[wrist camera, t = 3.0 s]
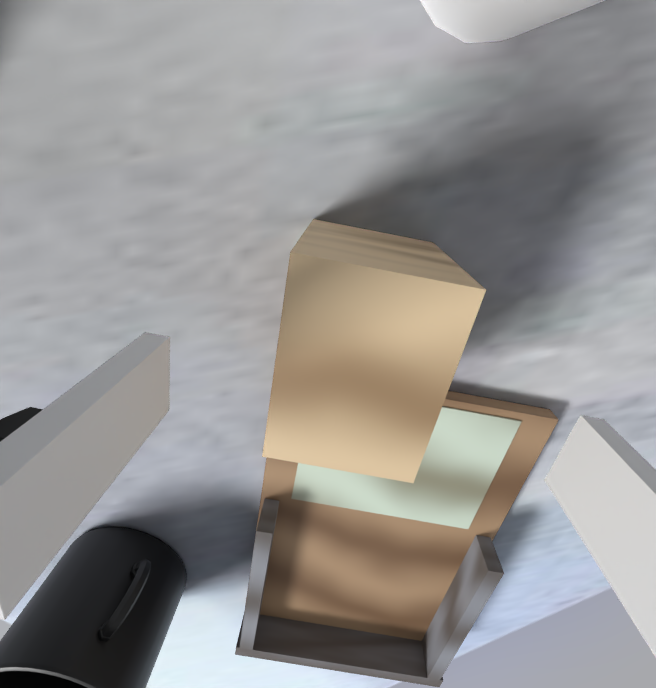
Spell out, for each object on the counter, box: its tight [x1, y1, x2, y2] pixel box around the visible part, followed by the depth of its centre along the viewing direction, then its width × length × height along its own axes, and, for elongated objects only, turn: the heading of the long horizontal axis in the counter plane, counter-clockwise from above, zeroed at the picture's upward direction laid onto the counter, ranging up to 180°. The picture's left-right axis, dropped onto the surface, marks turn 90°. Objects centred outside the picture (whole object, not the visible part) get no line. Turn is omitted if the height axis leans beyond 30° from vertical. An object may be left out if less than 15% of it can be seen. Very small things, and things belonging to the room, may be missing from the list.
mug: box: [0, 527, 186, 688], centre depth 26 cm, size 9×12×9 cm
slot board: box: [235, 391, 558, 687], centre depth 25 cm, size 24×16×4 cm, turn 170°
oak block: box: [262, 219, 486, 483], centre depth 17 cm, size 8×6×8 cm
